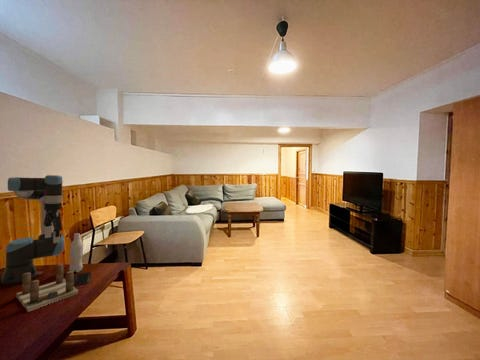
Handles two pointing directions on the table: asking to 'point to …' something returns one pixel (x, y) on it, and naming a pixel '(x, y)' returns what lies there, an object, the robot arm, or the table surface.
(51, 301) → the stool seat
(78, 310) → the table surface
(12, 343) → the table surface
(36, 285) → the hinged leg
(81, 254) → the water bottle
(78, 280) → the phone
